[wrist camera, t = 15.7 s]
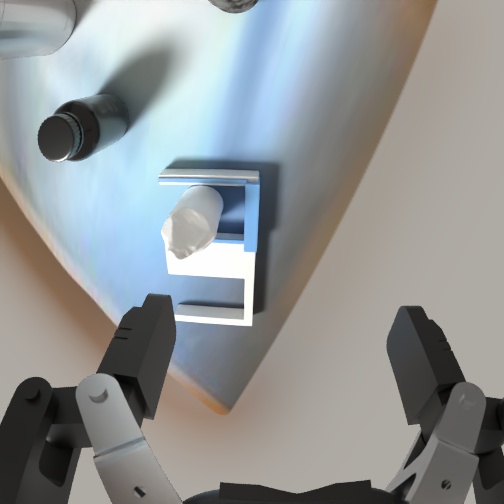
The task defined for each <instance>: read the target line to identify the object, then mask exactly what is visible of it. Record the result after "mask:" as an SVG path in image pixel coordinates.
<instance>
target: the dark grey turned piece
mask: <svg viewBox="0 0 504 504" xmlns="http://www.w3.org/2000/svg"><path fill="white" fill-rule="evenodd" d="M209 1H210V2H211V3H212V4H213V5H214V6H216V7H218V8H219V9H221V10H223V11H225V12H228V13H241V12H245V11H247V10H249V9H250V8H252V7H253V6H254V5H255V4H256V2H257V0H209Z"/></svg>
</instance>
